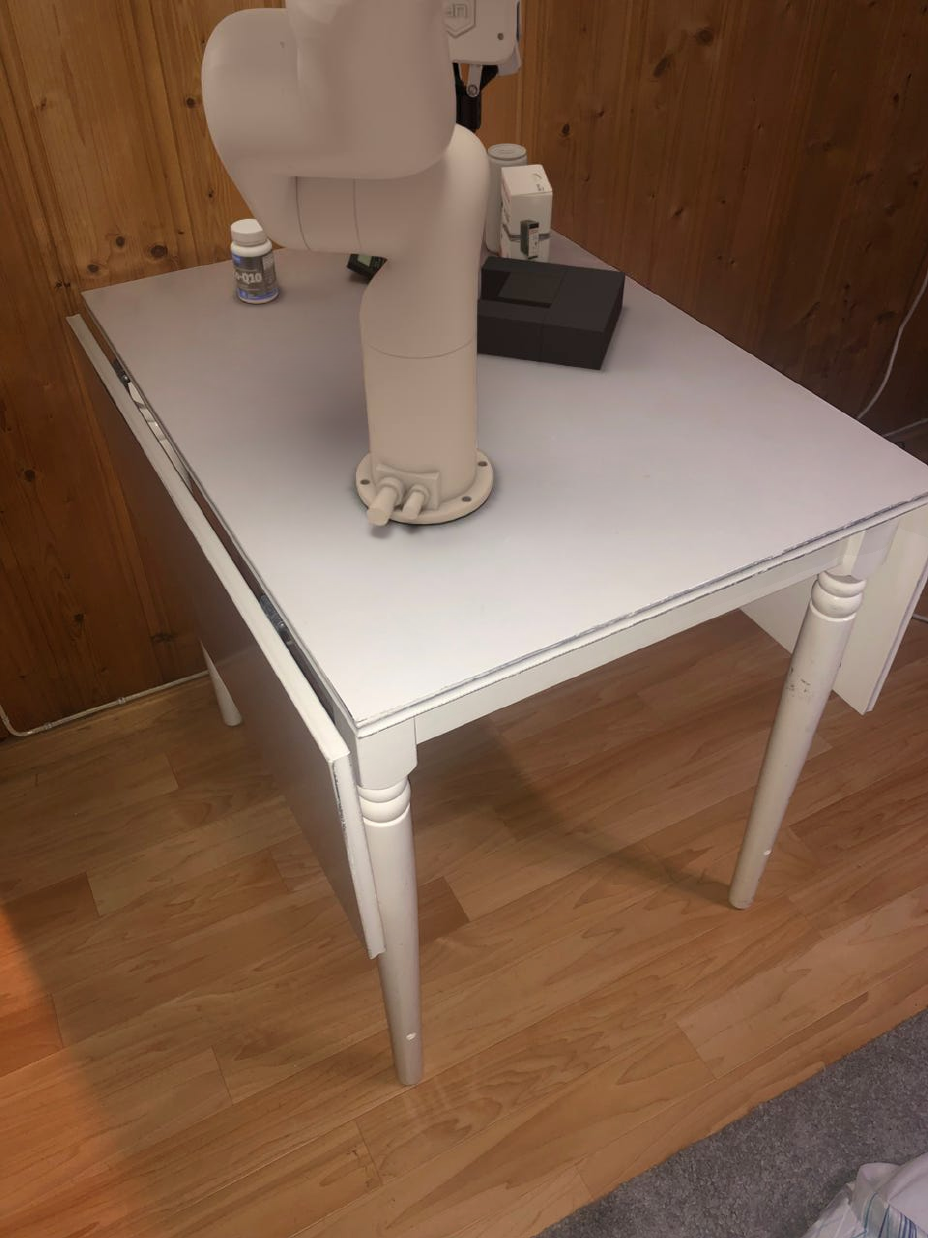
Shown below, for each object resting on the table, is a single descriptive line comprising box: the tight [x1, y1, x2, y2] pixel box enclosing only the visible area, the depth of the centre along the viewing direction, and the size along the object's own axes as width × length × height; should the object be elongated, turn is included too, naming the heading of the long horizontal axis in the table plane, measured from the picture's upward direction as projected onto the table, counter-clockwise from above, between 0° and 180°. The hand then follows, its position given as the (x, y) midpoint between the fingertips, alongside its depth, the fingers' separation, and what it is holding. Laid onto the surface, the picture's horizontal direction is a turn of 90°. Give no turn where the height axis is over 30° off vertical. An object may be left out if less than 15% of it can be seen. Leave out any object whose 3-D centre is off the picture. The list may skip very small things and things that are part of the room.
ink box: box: [499, 164, 554, 263], centre depth 119 cm, size 9×5×12 cm, turn 6°
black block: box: [498, 272, 563, 308], centre depth 113 cm, size 6×6×4 cm
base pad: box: [477, 255, 627, 371], centre depth 113 cm, size 16×14×4 cm
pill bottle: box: [230, 218, 279, 305], centre depth 117 cm, size 5×5×8 cm
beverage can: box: [485, 143, 528, 255], centre depth 125 cm, size 5×5×12 cm
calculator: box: [346, 254, 387, 281], centre depth 124 cm, size 9×12×3 cm
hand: (464, 134), depth 99 cm, fingers closed
